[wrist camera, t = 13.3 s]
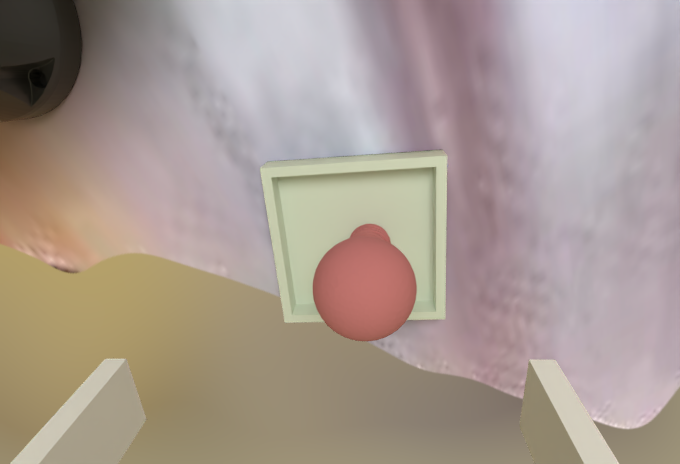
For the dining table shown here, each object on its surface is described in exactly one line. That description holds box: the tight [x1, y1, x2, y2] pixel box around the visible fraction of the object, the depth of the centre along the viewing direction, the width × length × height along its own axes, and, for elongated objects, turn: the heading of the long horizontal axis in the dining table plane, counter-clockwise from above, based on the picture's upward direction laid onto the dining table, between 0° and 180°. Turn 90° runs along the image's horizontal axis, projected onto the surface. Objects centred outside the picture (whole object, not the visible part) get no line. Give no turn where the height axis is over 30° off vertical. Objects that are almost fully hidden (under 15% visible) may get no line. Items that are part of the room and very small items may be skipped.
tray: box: [260, 150, 447, 323], centre depth 35 cm, size 15×15×2 cm
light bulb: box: [313, 224, 417, 341], centre depth 30 cm, size 7×7×12 cm
